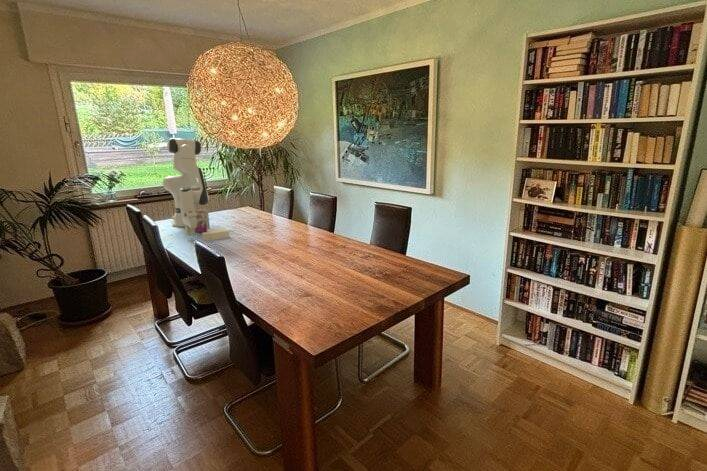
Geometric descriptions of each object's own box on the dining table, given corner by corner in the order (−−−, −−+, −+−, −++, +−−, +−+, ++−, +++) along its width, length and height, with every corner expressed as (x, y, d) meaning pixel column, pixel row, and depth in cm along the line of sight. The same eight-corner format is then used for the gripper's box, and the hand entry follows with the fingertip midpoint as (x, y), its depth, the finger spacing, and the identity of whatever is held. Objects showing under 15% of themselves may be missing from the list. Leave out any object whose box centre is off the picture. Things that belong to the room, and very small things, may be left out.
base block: (207, 236, 256) (206, 229, 254) (224, 233, 262) (223, 227, 261) (211, 240, 246) (211, 233, 245) (229, 237, 253) (228, 230, 252)
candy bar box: (192, 232, 264) (190, 210, 259) (196, 230, 269) (193, 209, 264) (207, 232, 263) (204, 210, 258) (210, 231, 268) (208, 209, 263)
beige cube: (202, 239, 246) (201, 232, 244) (209, 238, 249) (209, 231, 248) (204, 241, 242) (204, 234, 241) (212, 240, 245) (211, 233, 244)
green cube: (185, 234, 245) (184, 227, 244) (193, 232, 248) (192, 225, 247) (187, 235, 242) (186, 228, 240) (195, 234, 245) (194, 227, 243)
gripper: (178, 209, 246) (180, 229, 250) (187, 215, 231) (189, 236, 235) (188, 208, 250) (190, 227, 254) (197, 214, 235) (199, 234, 239)
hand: (190, 231), depth 244 cm, fingers closed on green cube, 5 cm apart
